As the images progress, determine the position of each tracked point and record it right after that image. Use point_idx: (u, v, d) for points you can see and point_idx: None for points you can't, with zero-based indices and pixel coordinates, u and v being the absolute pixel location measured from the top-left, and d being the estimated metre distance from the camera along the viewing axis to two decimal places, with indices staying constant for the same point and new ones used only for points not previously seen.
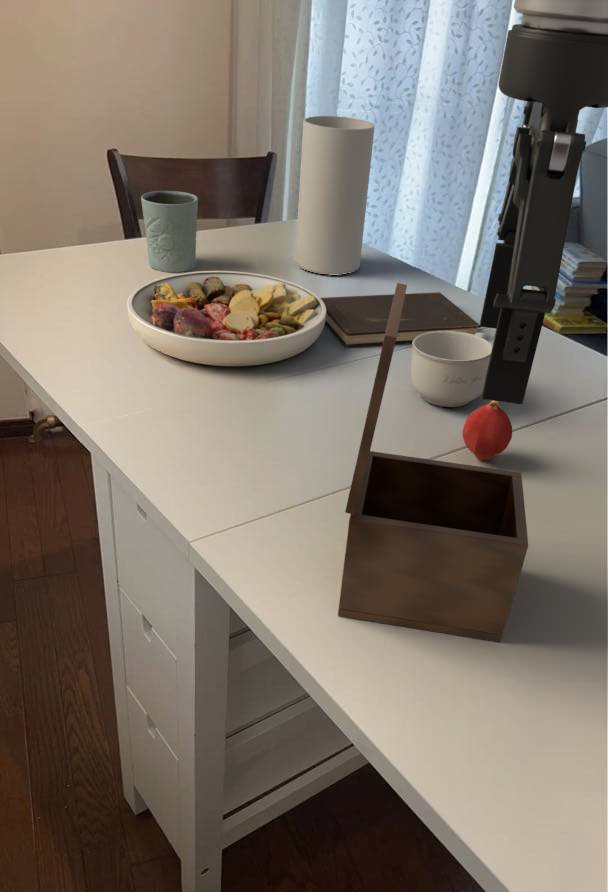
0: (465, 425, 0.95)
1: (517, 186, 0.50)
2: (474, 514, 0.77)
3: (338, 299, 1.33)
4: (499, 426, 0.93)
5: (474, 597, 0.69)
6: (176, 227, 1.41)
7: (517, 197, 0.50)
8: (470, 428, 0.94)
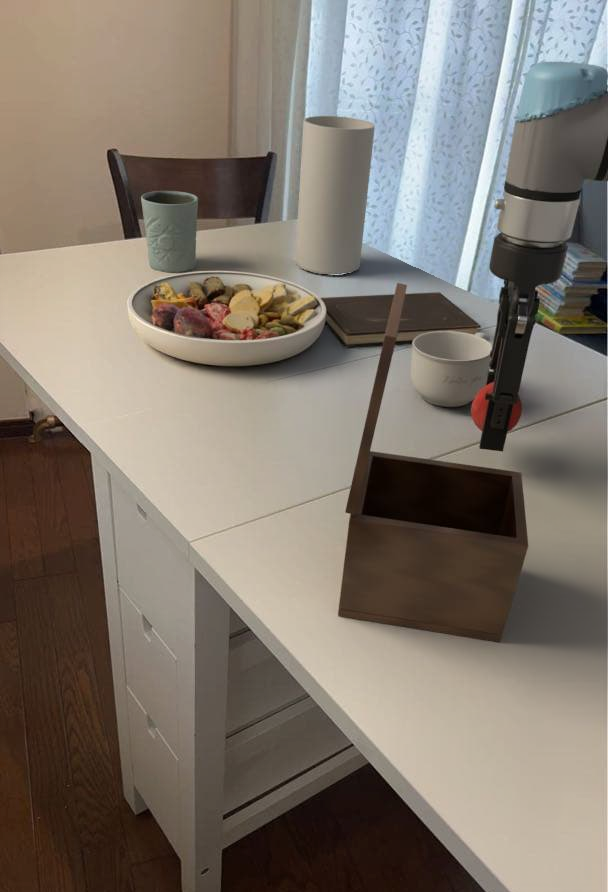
0: (474, 402, 0.93)
1: (499, 330, 0.86)
2: (474, 514, 0.77)
3: (338, 299, 1.33)
4: None
5: (474, 597, 0.69)
6: (176, 227, 1.41)
7: (499, 335, 0.86)
8: (478, 405, 0.92)
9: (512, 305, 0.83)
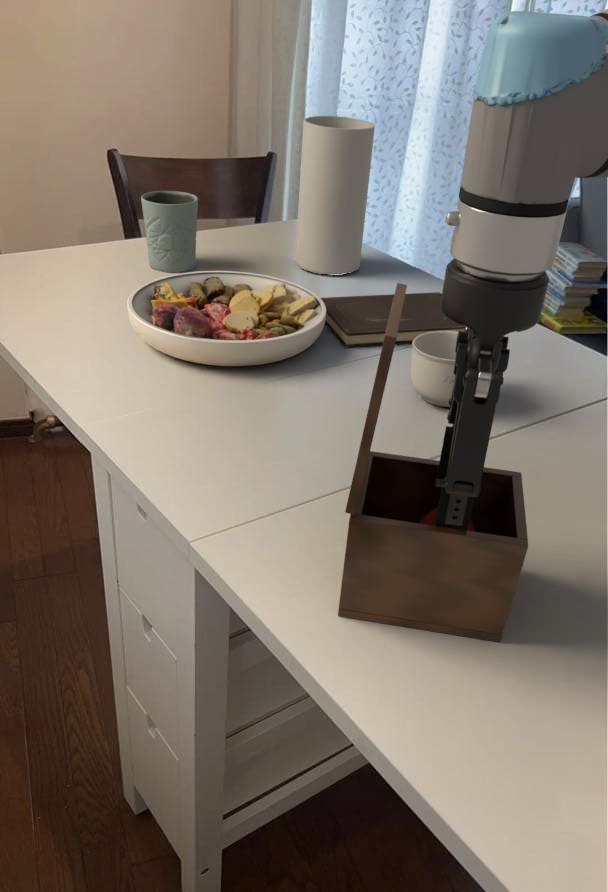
0: None
1: (454, 391, 0.61)
2: (474, 514, 0.77)
3: (338, 299, 1.33)
4: None
5: (474, 597, 0.69)
6: (176, 227, 1.41)
7: (455, 399, 0.62)
8: None
9: (470, 360, 0.59)
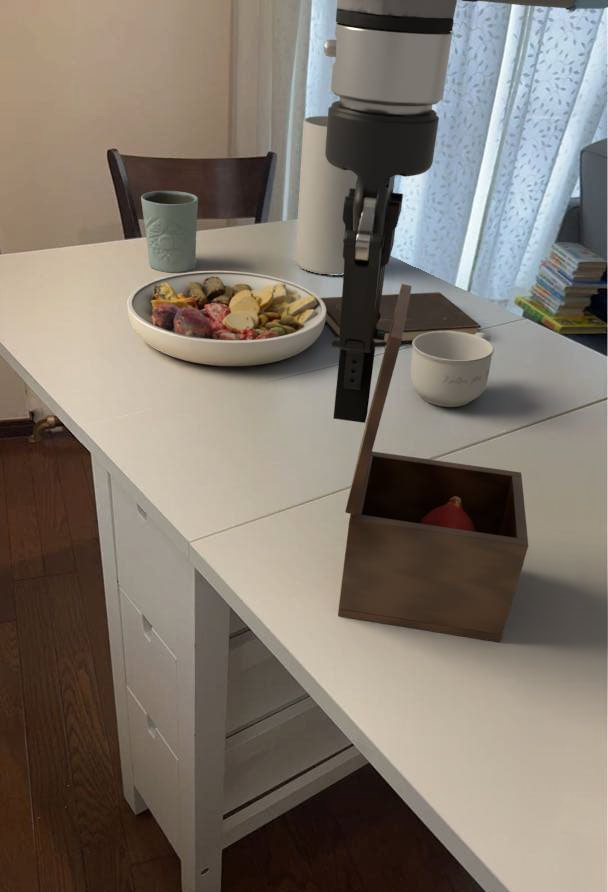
0: None
1: (343, 251, 0.58)
2: (474, 514, 0.77)
3: (338, 299, 1.33)
4: (462, 525, 0.73)
5: (474, 597, 0.69)
6: (176, 227, 1.41)
7: None
8: None
9: (354, 208, 0.54)
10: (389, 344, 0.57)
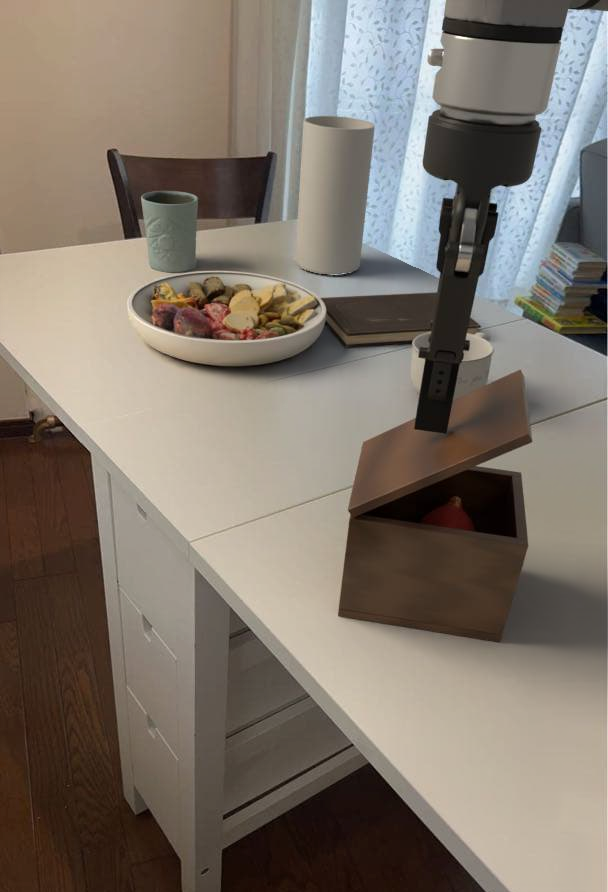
0: None
1: (437, 261, 0.57)
2: (474, 514, 0.77)
3: (338, 299, 1.33)
4: (462, 525, 0.73)
5: (474, 597, 0.69)
6: (176, 227, 1.41)
7: None
8: None
9: (454, 219, 0.53)
10: (520, 437, 0.60)
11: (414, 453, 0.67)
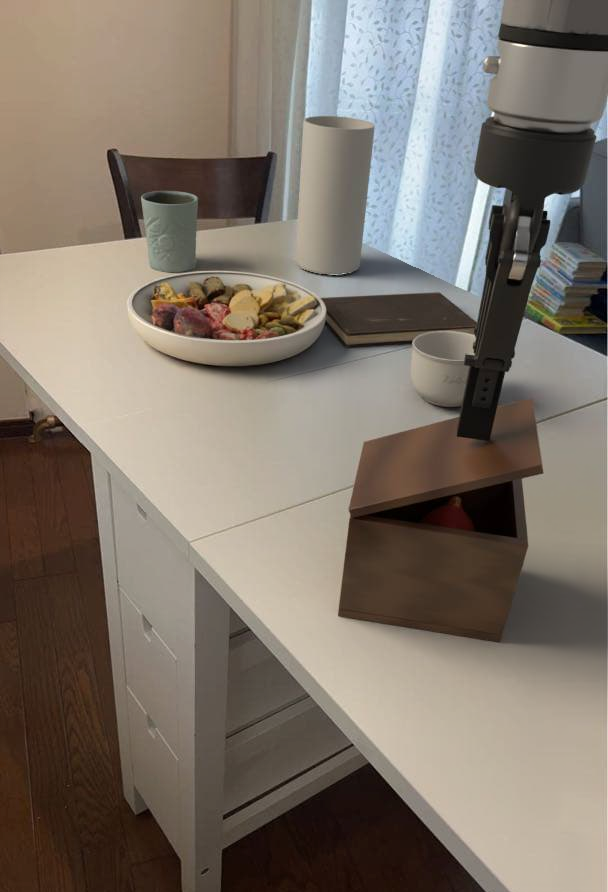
0: None
1: (487, 269, 0.57)
2: (474, 514, 0.77)
3: (338, 299, 1.33)
4: (462, 525, 0.73)
5: (474, 597, 0.69)
6: (176, 227, 1.41)
7: (487, 276, 0.58)
8: None
9: (508, 227, 0.53)
10: (533, 467, 0.61)
11: (420, 463, 0.68)
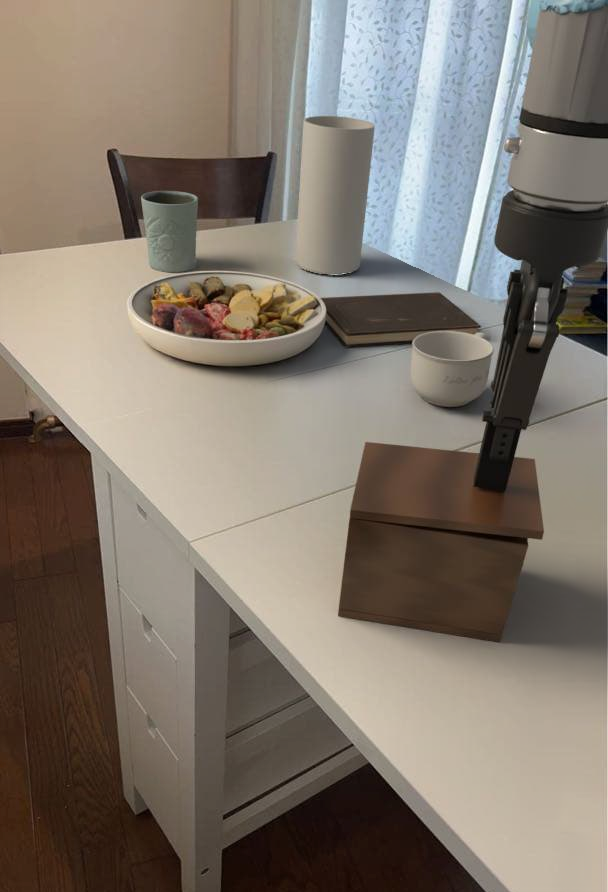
0: None
1: (506, 333, 0.59)
2: None
3: (338, 299, 1.33)
4: None
5: (474, 597, 0.69)
6: (176, 227, 1.41)
7: (506, 340, 0.60)
8: None
9: (528, 298, 0.56)
10: (536, 531, 0.64)
11: (424, 487, 0.69)
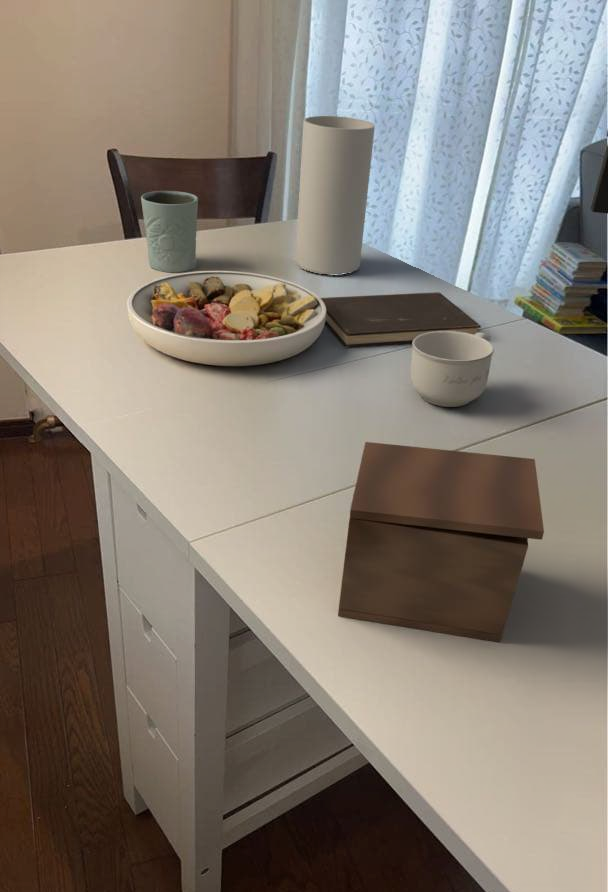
0: None
1: None
2: None
3: (338, 300, 1.33)
4: None
5: (474, 597, 0.69)
6: (176, 227, 1.41)
7: None
8: None
9: None
10: (536, 531, 0.64)
11: (424, 487, 0.69)
